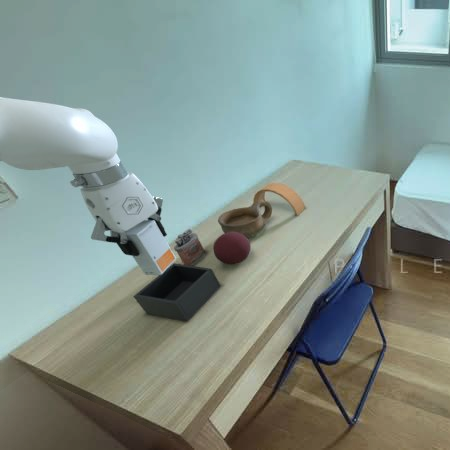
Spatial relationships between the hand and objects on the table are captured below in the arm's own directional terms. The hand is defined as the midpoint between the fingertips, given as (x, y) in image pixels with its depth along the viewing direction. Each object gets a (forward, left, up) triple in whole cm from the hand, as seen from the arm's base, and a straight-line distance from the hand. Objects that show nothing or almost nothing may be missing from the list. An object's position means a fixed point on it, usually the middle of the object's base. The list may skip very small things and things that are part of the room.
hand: (147, 244), depth 72 cm
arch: (+49, 0, -20) cm, 53 cm away
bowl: (+34, +3, -20) cm, 40 cm away
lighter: (+16, +11, -20) cm, 28 cm away
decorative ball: (+18, -3, -20) cm, 27 cm away
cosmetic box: (0, 0, -7) cm, 7 cm away
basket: (+1, +1, -20) cm, 20 cm away
